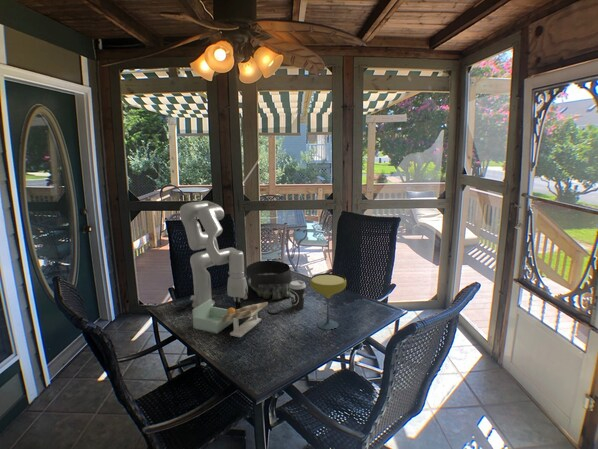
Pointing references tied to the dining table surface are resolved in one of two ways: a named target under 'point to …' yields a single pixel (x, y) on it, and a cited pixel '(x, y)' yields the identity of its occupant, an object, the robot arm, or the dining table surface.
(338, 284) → the cocktail glass
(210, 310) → the bin
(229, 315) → the beige flat panel
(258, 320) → the stand
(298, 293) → the coffee cup
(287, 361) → the dining table surface
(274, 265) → the basket
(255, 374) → the dining table surface
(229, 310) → the orange ball
